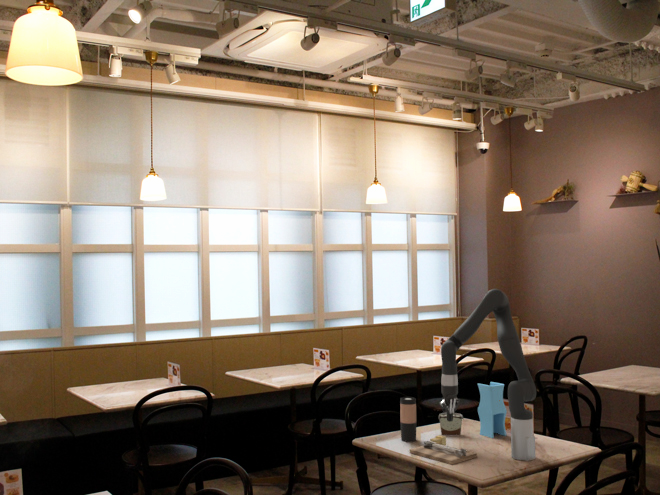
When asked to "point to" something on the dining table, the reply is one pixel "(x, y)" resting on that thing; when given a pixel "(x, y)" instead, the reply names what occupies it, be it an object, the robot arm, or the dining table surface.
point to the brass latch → (439, 440)
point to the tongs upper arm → (441, 446)
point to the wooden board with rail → (443, 454)
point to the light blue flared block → (492, 409)
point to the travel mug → (408, 418)
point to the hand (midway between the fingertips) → (449, 421)
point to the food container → (450, 424)
